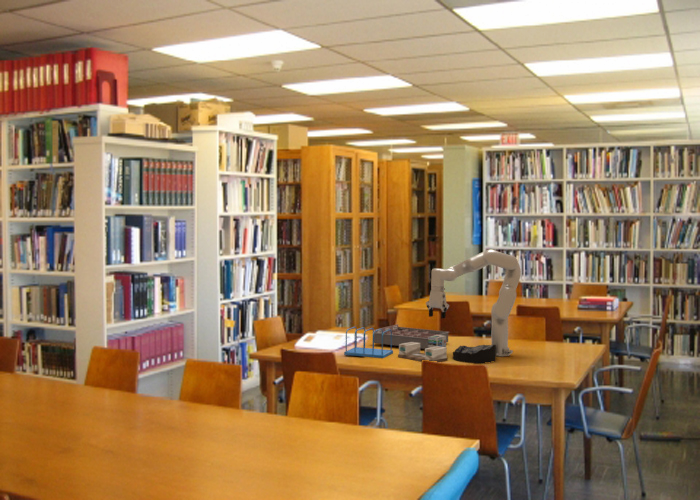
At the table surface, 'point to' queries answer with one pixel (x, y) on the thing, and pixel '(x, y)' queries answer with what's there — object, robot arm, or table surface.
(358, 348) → the file sorter
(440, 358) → the rail board
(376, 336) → the organizer tray
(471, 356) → the topographical model
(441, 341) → the light bulb box
